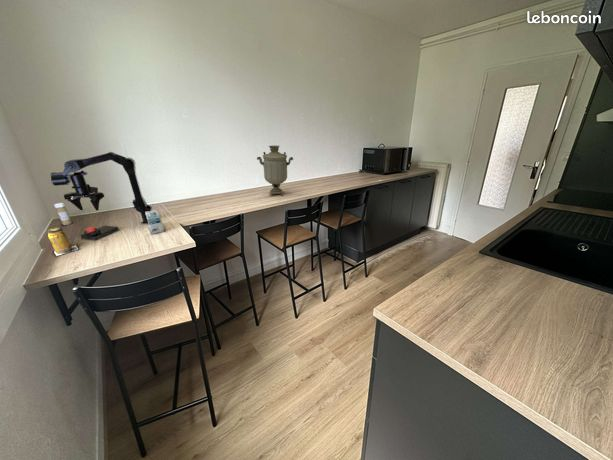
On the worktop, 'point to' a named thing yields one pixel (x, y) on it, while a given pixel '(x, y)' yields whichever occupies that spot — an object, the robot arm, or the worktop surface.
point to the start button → (90, 229)
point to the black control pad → (99, 233)
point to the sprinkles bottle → (63, 213)
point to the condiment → (60, 241)
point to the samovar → (275, 168)
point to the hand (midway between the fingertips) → (89, 210)
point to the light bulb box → (154, 221)
